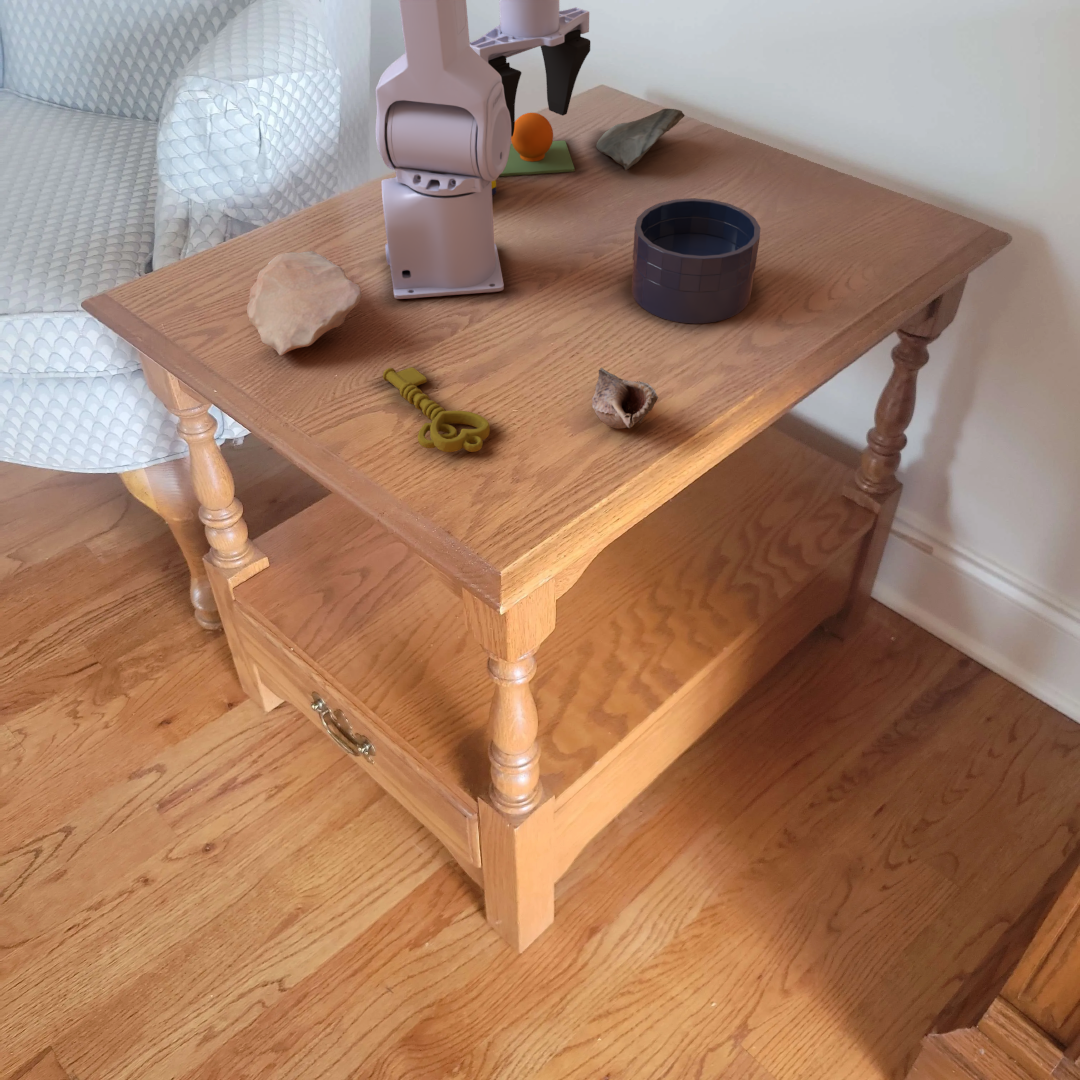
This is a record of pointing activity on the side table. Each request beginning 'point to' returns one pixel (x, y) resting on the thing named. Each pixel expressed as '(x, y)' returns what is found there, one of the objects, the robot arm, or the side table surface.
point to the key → (438, 415)
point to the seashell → (622, 400)
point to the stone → (637, 136)
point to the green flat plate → (540, 162)
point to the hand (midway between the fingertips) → (531, 122)
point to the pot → (694, 260)
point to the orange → (532, 136)
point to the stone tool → (300, 300)
